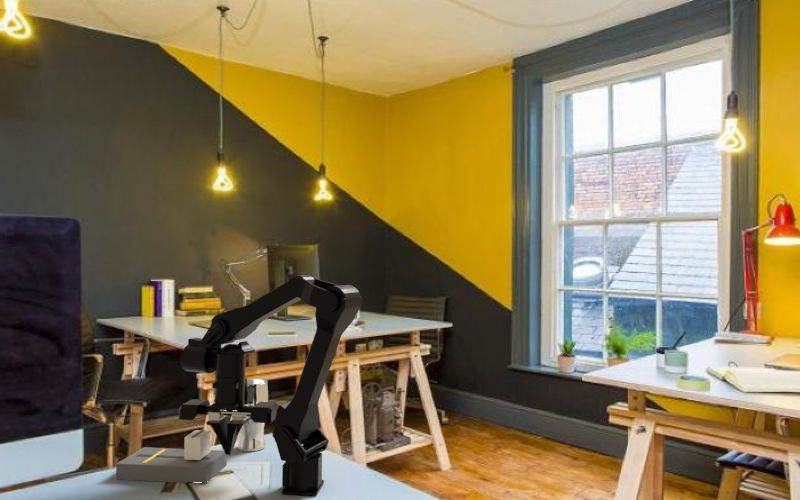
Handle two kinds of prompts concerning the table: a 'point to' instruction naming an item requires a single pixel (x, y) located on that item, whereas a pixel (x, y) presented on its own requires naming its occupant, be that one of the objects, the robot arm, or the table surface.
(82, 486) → the table surface
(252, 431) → the beer glass
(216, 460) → the fader console
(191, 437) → the fader tab
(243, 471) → the table surface
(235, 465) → the table surface
